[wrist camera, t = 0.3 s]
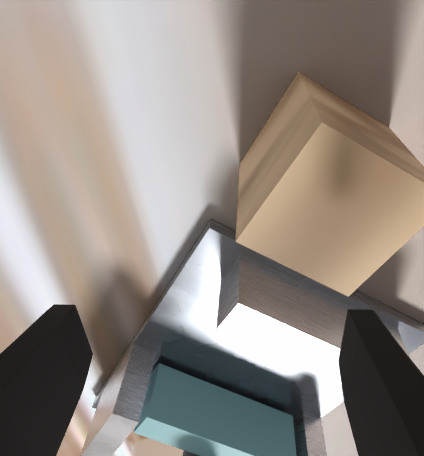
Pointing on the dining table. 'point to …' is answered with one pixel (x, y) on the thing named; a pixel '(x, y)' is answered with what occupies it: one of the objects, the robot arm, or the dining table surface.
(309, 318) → the press
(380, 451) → the robot arm
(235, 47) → the dining table surface
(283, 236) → the block
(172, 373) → the ram
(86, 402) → the dining table surface
